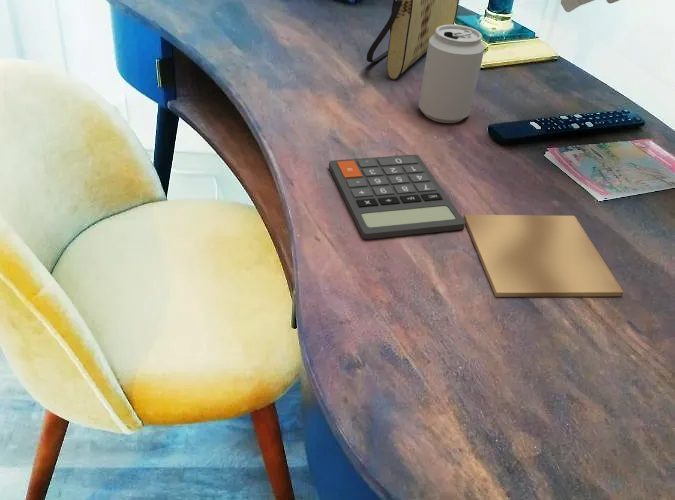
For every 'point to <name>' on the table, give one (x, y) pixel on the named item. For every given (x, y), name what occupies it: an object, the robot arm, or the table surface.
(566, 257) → the cork mat
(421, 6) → the clutch purse
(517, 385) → the table surface
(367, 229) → the calculator
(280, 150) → the table surface
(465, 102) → the can
